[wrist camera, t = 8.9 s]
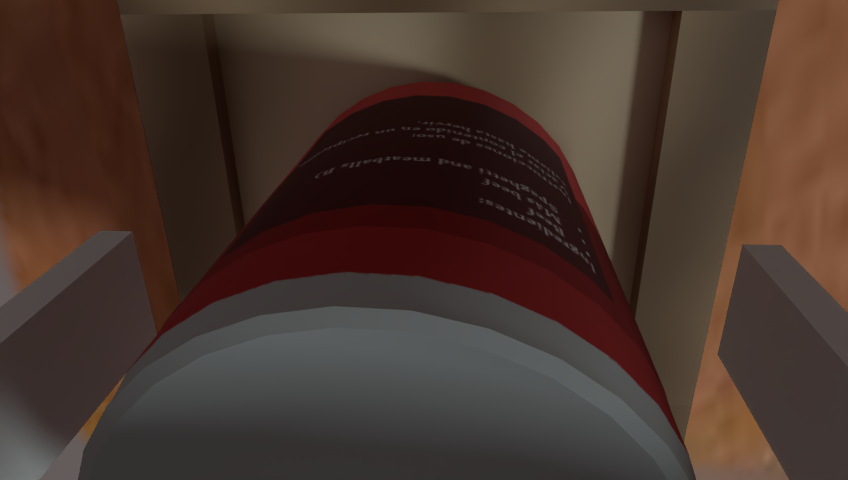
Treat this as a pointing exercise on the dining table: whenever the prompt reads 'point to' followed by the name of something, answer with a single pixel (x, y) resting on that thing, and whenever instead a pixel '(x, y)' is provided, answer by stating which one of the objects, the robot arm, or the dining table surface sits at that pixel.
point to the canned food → (403, 321)
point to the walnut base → (487, 70)
